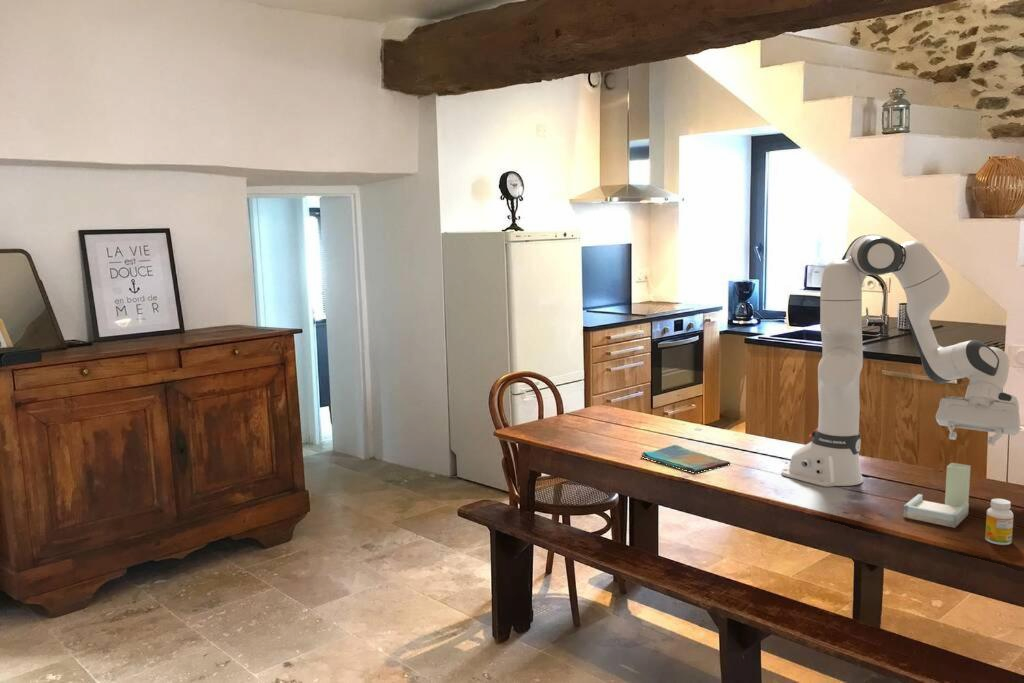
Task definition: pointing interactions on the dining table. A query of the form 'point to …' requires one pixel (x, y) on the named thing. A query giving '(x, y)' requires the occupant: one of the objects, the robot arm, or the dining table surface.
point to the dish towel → (685, 459)
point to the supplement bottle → (999, 522)
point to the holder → (935, 512)
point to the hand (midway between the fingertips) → (971, 441)
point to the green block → (957, 484)
